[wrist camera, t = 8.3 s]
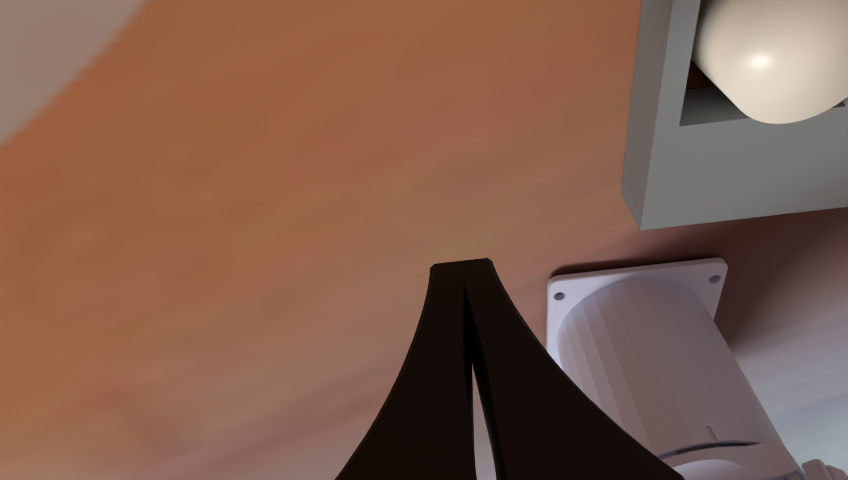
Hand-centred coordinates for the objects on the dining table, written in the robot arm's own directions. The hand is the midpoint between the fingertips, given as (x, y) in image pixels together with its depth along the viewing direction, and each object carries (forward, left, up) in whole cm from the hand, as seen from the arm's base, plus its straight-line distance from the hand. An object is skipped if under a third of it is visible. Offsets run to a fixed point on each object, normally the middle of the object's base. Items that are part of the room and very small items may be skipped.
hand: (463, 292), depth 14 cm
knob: (+2, -11, -10) cm, 14 cm away
